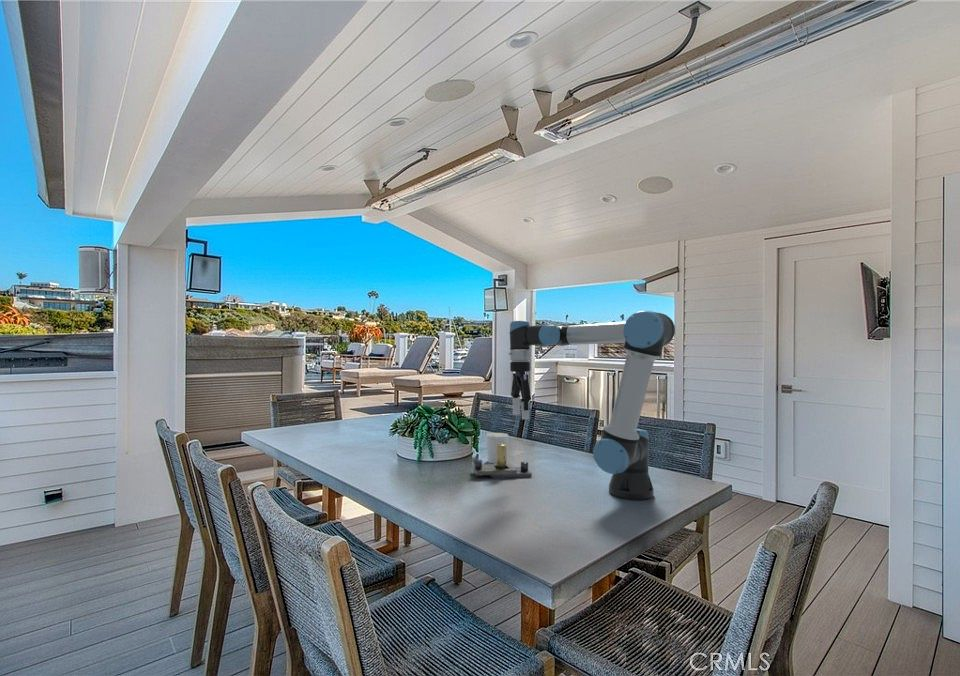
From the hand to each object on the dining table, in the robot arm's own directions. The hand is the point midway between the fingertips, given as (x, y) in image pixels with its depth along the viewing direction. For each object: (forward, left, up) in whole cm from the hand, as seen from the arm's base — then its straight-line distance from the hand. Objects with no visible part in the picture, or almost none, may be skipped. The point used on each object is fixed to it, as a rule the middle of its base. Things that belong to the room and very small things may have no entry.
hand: (520, 416), depth 183 cm
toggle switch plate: (+5, -10, -25) cm, 27 cm away
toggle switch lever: (+5, -10, -25) cm, 27 cm away
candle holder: (+2, -31, -25) cm, 40 cm away
